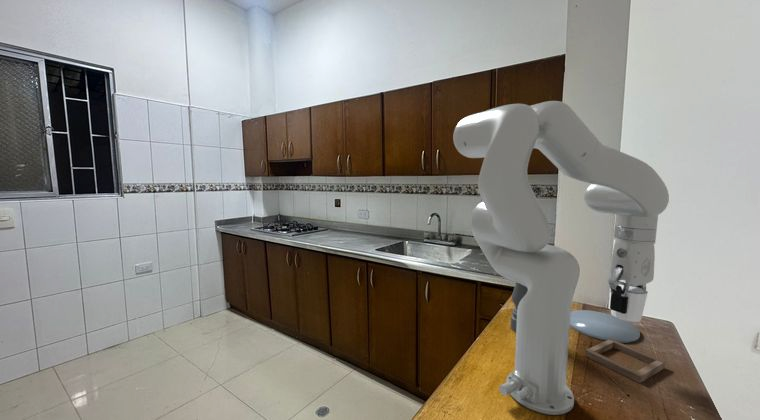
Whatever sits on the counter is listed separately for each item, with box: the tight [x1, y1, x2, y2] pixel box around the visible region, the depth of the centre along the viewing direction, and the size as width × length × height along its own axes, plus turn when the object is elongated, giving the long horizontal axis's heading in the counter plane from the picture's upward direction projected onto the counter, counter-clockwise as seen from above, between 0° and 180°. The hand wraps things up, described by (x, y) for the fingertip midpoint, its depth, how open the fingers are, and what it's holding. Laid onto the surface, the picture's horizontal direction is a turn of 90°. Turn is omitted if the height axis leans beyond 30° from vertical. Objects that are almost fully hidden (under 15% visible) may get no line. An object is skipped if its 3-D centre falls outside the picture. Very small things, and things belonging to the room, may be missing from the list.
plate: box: [569, 309, 641, 344], centre depth 92 cm, size 18×18×1 cm
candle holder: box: [510, 282, 528, 333], centre depth 90 cm, size 6×6×25 cm
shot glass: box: [610, 285, 649, 323], centre depth 73 cm, size 7×7×7 cm
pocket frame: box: [584, 339, 666, 384], centre depth 75 cm, size 12×12×2 cm
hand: (626, 307), depth 73 cm, fingers closed on shot glass, 6 cm apart
